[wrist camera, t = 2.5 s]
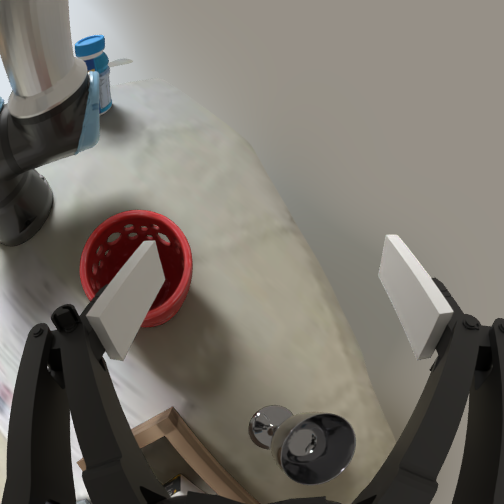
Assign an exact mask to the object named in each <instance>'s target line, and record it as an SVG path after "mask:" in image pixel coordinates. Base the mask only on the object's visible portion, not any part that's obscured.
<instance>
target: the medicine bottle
mask: <svg viewBox="0 0 504 504" xmlns="http://www.w3.org/2000/svg"><path fill="white" fill-rule="evenodd" d="M163 487H164V488H165V489H166V490H167V492H168V493H169V495H170V496H171V497H175V496H181V495H187V492H188V491H192V492H198V493H204V494H206V493H205V492H203V491H202V490H201V489H199V488H198V487H197V486H195V485H194V484H193V483H191V482H190V481H189V480H188V479H186V478H185V477H184V476H183V475H181V474H179V475H177V476H176V477H175V478H173V479H172V480H170V481H169V482H168V483H166V484H165V485H163Z"/></svg>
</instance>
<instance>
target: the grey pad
mask: <svg viewBox="0 0 504 504" xmlns="http://www.w3.org/2000/svg"><path fill="white" fill-rule="evenodd" d="M76 504H90V502H89V501H88V500H87V499H85V500H82V501H79V502H76Z"/></svg>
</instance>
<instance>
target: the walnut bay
mask: <svg viewBox="0 0 504 504" xmlns="http://www.w3.org/2000/svg"><path fill="white" fill-rule="evenodd" d="M131 431H132V433H133V435H134V437H135V439H136V441H137V443H138V446H139V448H142V447H144V446H146V445H148V444H150V443H152V442H154V441H156V440H158V439H160V438H161V437H163V436H166V438H167V439H168V440H169V441H170V443H171V444H172V445H173V446H174V448H175V449H176V450H177V451H178V452H179V454H180V455H181V456H182V457H183V458H184V459H185V460H186V462H187V463H188V464H189V465H190V466H191V467H192V468H193V469H194V470H195V472H196V473H197V474H198V475H199V476H200V477H201V478H202V479H203V480H204V481H205V482H206V483H207V484H208V485H209V486H210V487H211V488H212V489H213V490H214V491H215V492H216V493H217V494H218V495H219V496H223V497H226V498H229V499H232V500H235V501H238V502H242V503H245V504H260V503H259V502H258V501H257V500H256V499H255V498H254V497H252V496H251V495H250V494H249V493H248V492H247V491H246V490H245V489H244V488H243V487H242V486H241V485H240V484H239V483H238V482H237V481H236V480H235V479H234V478H233V477H232V476H231V475H230V474H229V473H228V472H227V471H226V470H225V469H224V468H223V467H222V466H221V465H220V464H219V463H218V461H217V460H216V459H215V458H214V457H213V456H212V455H211V454H210V453H209V451H208V450H207V449H206V448H205V447H204V446H203V444H202V443H201V442H200V441H199V440H198V438H197V437H196V436H195V435H194V434H193V432H192V431H191V430H190V429H189V427H188V426H187V425H186V423H185V422H184V421H183V420H182V418H181V417H180V416H179V414H178V413H177V412H176V410H175V409H174V408H173V406H172V407H171V408H169V409H167V410H166V411H164V412H162V413H160V414H159V415H157V416H155V417H153V418H151V419H150V420H148V421H146V422H144V423H142V424H140V425H138V426H137V427H135V428H133V429H131ZM76 463H77V464H78V465H79V467H80V468H81V469H82V471H84V470H86V464H85V461H84V458H82V459H81V460H79V461H78V462H76Z"/></svg>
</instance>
